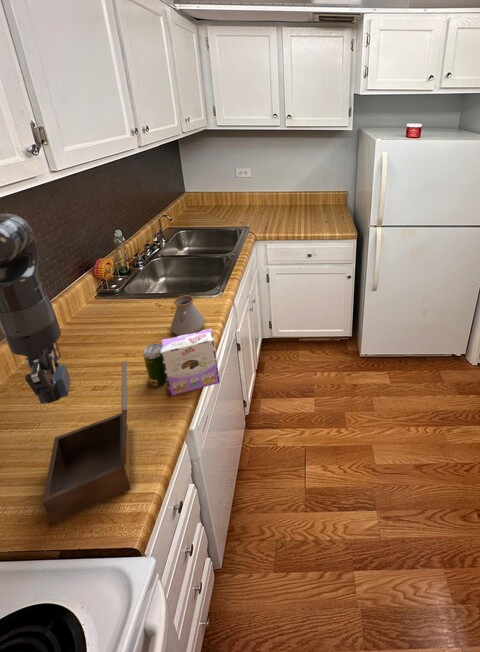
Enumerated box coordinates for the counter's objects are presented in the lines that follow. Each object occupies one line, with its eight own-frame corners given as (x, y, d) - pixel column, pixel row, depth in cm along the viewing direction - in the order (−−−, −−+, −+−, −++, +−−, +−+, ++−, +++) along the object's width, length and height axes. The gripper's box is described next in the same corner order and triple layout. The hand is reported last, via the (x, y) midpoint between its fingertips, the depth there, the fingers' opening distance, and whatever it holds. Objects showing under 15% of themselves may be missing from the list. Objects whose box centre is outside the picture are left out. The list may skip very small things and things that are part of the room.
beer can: (165, 388, 96) (158, 356, 92) (146, 388, 96) (138, 356, 92) (172, 374, 101) (166, 343, 97) (155, 374, 101) (148, 342, 97)
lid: (122, 410, 64) (127, 409, 64) (122, 361, 76) (126, 360, 76) (121, 466, 68) (126, 464, 68) (121, 411, 80) (125, 410, 80)
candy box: (218, 370, 103) (212, 327, 97) (220, 385, 98) (214, 340, 91) (170, 383, 98) (161, 338, 92) (169, 398, 93) (159, 352, 87)
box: (53, 527, 65) (41, 502, 62) (64, 460, 77) (54, 437, 74) (131, 490, 71) (124, 466, 68) (130, 434, 83) (123, 412, 80)
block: (40, 404, 64) (34, 387, 63) (44, 388, 68) (38, 372, 66) (68, 395, 66) (62, 378, 65) (70, 380, 70) (65, 364, 68)
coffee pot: (172, 323, 124) (166, 289, 118) (205, 317, 127) (200, 284, 122) (168, 364, 105) (161, 325, 100) (206, 355, 109) (201, 318, 103)
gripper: (13, 307, 65) (39, 374, 71) (-10, 353, 53) (24, 428, 60) (60, 297, 68) (80, 362, 75) (48, 338, 57) (74, 410, 63)
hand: (55, 391), depth 67 cm, fingers closed on block, 4 cm apart
